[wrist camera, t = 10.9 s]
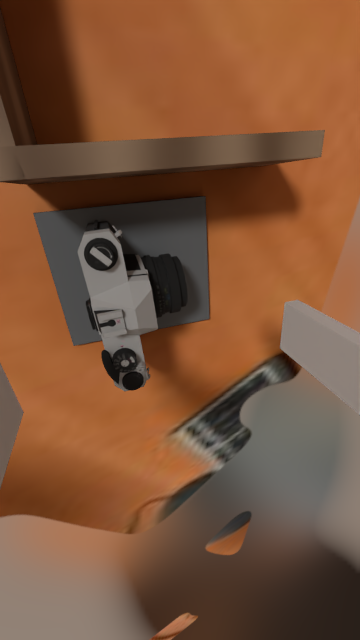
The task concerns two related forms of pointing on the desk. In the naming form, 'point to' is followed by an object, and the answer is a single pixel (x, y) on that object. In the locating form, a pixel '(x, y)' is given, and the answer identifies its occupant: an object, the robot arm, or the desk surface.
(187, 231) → the mat
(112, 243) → the camera
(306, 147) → the cubby
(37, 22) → the desk surface
